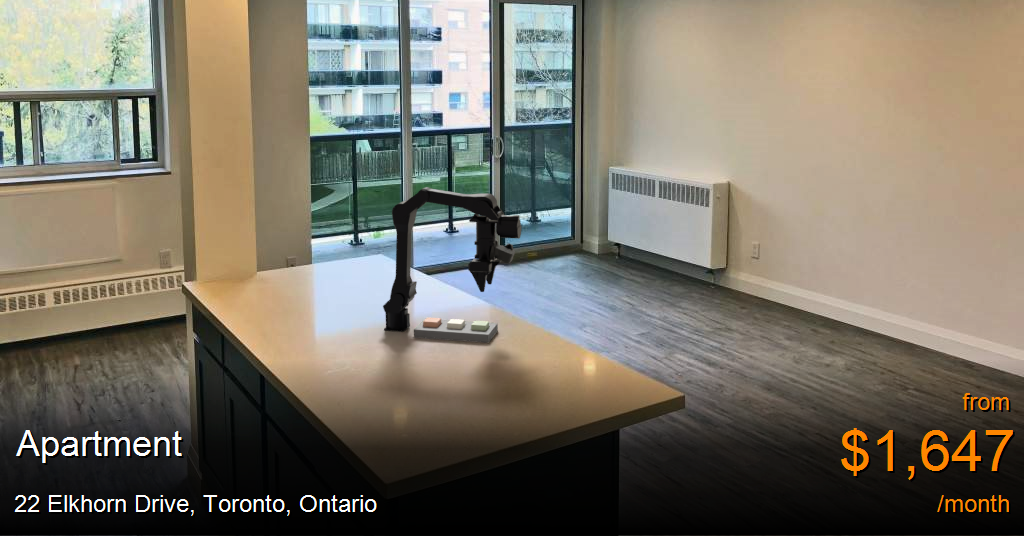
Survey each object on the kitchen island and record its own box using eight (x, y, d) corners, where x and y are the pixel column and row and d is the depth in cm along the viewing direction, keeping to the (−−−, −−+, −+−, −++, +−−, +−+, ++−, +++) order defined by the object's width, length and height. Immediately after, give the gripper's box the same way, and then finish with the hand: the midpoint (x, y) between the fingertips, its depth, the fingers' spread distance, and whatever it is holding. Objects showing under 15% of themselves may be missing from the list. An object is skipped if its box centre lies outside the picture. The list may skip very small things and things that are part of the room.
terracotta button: (423, 329, 286) (423, 321, 286) (427, 325, 290) (427, 317, 290) (437, 330, 285) (437, 322, 285) (441, 326, 290) (441, 318, 289)
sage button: (471, 332, 283) (471, 324, 283) (474, 328, 287) (474, 320, 287) (485, 333, 282) (485, 325, 282) (489, 329, 286) (489, 321, 286)
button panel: (413, 337, 283) (413, 329, 283) (425, 325, 295) (425, 318, 294) (488, 342, 279) (488, 334, 278) (497, 330, 290) (497, 323, 289)
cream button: (447, 331, 285) (447, 323, 284) (451, 326, 289) (451, 318, 288) (461, 331, 284) (461, 324, 283) (465, 327, 288) (465, 319, 287)
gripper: (505, 244, 269) (505, 297, 273) (519, 232, 287) (518, 282, 291) (467, 242, 272) (468, 295, 275) (483, 230, 289) (483, 280, 293)
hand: (486, 288), depth 283 cm, fingers open, 9 cm apart
